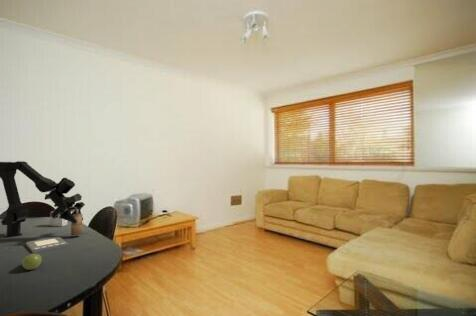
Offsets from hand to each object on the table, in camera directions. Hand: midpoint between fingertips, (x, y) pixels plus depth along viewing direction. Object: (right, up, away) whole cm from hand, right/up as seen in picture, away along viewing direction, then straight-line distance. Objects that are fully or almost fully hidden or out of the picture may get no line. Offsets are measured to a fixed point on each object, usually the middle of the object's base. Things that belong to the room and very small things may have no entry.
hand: (79, 221), depth 134 cm
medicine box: (-27, -8, +23) cm, 36 cm away
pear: (+6, -8, -39) cm, 40 cm away
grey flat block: (-6, -8, -15) cm, 18 cm away
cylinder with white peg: (-2, -7, 0) cm, 7 cm away
